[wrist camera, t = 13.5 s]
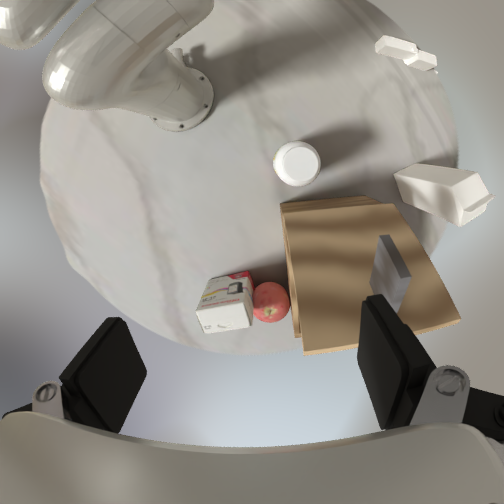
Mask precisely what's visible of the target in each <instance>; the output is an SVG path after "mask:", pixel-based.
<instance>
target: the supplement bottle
mask: <svg viewBox="0 0 504 504" xmlns="http://www.w3.org/2000/svg"><path fill="white" fill-rule="evenodd" d="M273 167H274V170H275V172H276V174H277V175H278V176H279V178H280V179H281V180H282V181H284V182H285V183H287V184H289V185H291V186H296V187H299V186H305V185H308V184H310V183H311V182H313V181H314V180H315V179H316V177H317V176H318V174H319V172H320V167H321V161H320V157H319V155H318V153H317V151H316V150H315V149H314V148H313V147H312V146H311V145H309V144H308V143H305V142H302V141H292V142H289V143H287V144H285V145H283V146H282V147H281V148H280V149H279V150H278V151H277V152H276V154H275V156H274V159H273Z"/></svg>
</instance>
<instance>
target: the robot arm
mask: <svg viewBox="0 0 504 504" xmlns="http://www.w3.org/2000/svg"><path fill="white" fill-rule="evenodd" d="M79 1H80V0H0V43H1V44H2V45H4V46H7V47H9V48H12V49H16V50H25V49H28V48H31V47H32V46H34V45H36V44H37V43H39V42H40V41H41V40H42V39H43V38H44V37H45V36H46V35H47V34H48V33H49V32H50V31H51V30H52V29H53V28H54V27H55V26H56V25H57V24H58V22H59V21H60V20H61V19H62V18H63V17H64V16H65V15H66V14H67V13H68V12H69V11H70V10H71V9H72V8H73V7H74V6H75V5H76V4H77V3H78V2H79ZM213 7H214V0H96V1H95V2H94V3H93V4H91V5H90V6H89V7H88V8H87V9H86V10H85V11H84V12H83V13H82V14H81V15H80V16H79V17H78V18H77V19H76V20H75V21H74V22H73V23H72V24H71V25H70V27H69V28H68V29H67V30H66V31H65V32H64V33H63V35H62V36H61V37H60V38H59V40H58V41H57V42H56V44H55V45H54V47H53V48H52V50H51V52H50V53H49V55H48V57H47V59H46V62H45V64H44V68H43V73H42V75H43V78H42V79H43V84H44V88H45V90H46V92H47V93H48V94H49V95H50V97H51V98H52V99H54V100H55V101H56V102H58V103H59V104H61V105H63V106H66V107H69V108H72V109H76V110H87V111H92V110H102V109H109V108H119V109H124V110H128V111H132V112H136V113H139V114H143V115H146V116H149V117H150V119H151V120H152V121H153V123H154V124H156V125H157V126H158V127H160V128H162V129H164V130H167V131H172V132H180V131H185V130H188V129H191V128H193V127H195V126H196V125H198V124H199V123H200V122H201V121H203V120H204V118H205V117H206V116H207V115H208V113H209V111H210V109H211V107H212V104H213V99H214V91H213V87H212V85H211V83H210V81H209V79H208V78H207V77H206V76H205V75H204V74H203V73H202V72H200V71H199V70H196V69H194V68H189V67H186V65H185V63H184V62H183V51H182V49H181V48H177V49H174V50H172V53H170V52H169V51H168V50H167V48H168V47H169V46H170V45H172V44H173V43H174V42H175V41H177V40H178V39H179V38H180V37H182V36H183V35H184V34H186V33H187V32H188V31H190V30H191V29H192V28H194V27H195V26H196V25H198V24H199V23H200V22H201V21H203V20H204V19H205V18H206V17H207V16H208V15H209V14H210V13H211V11H212V9H213ZM202 79H204V80H203V81H202ZM206 106H208V108H206ZM156 118H157V120H156ZM183 125H184V128H182V126H183ZM357 360H358V365H359V367H360V370H361V373H362V376H363V378H364V381H365V384H366V387H367V390H368V393H369V395H370V398H371V401H372V404H373V407H374V410H375V413H376V416H377V419H378V423H379V426H380V428H381V430H383V429H386V430H385V431H381V432H376V433H371V434H366V435H361V436H356V437H351V438H345V439H339V440H332V441H325V442H318V443H309V444H300V445H291V446H275V447H210V446H209V447H208V446H196V445H185V444H175V443H167V442H159V441H154V440H147V439H141V438H136V437H131V436H126V435H121V434H118V433H119V432H120V430H121V428H122V426H123V424H124V422H125V419H126V417H127V415H128V413H129V411H130V409H131V407H132V405H133V402H134V400H135V398H136V396H137V394H138V392H139V390H140V388H141V386H142V384H143V382H144V380H145V377H146V375H147V370H146V367H145V365H144V363H143V361H142V359H141V356H140V354H139V352H138V350H137V348H136V345H135V343H134V341H133V338H132V336H131V334H130V331H129V329H128V326H127V324H126V322H125V321H123V320H122V318H120V317H108V318H107V319H106V320H105V321H104V322H103V323H102V325H101V326H100V327H99V328H98V329H97V330H96V331H95V333H94V334H93V335H92V336H91V337H90V339H89V340H88V341H87V342H86V344H85V345H84V346H83V347H82V348H81V350H80V351H79V352H78V353H77V355H76V356H75V357H74V358H73V360H72V361H71V362H70V363H69V365H68V366H67V367H66V369H65V370H64V371H63V372H62V374H61V375H60V376H59V379H60V380H61V382H62V383H63V385H62V386H60V385H59V384H58V383H57V382H55V381H48V382H45V383H43V384H41V385H40V386H38V387H37V389H36V390H35V391H34V393H33V400H32V403H30V404H28V405H25V406H23V407H20V408H18V409H15V410H13V411H10V412H7V413H6V414H4V415H3V417H2V420H1V421H0V504H504V396H501V395H497V394H494V393H489V392H486V391H482V390H478V389H475V388H472V387H470V380H469V377H468V375H467V374H466V373H465V372H464V371H463V370H461V369H460V368H458V367H455V366H448V365H446V366H441V367H438V368H437V367H436V366H435V364H434V363H433V361H432V360H431V358H430V357H429V355H428V354H427V352H426V351H425V349H424V348H423V346H422V345H421V343H420V342H419V340H418V339H417V337H416V336H415V334H414V333H413V331H412V330H411V329H410V327H409V326H408V325H407V324H403V322H402V321H401V319H400V318H399V316H398V315H397V314H396V312H395V311H394V309H393V308H392V307H391V305H390V304H389V302H388V301H387V300H386V298H385V297H384V296H383V295H382V294H377V295H371V296H367V298H366V300H364V301H362V307H361V321H360V333H359V344H358V353H357Z"/></svg>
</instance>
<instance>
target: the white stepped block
mask: <svg viewBox="0 0 504 504" xmlns="http://www.w3.org/2000/svg"><path fill="white" fill-rule="evenodd" d="M375 48H376V53H377V54H382V55H386V56H390V57H394V58H398V59H402V60H404V63H405V64H407V66H410V67H414V68H417V69H421V70H424V71H427V70H429V69H431V68H434V67H436V66H437V60H436V56H435V55H432V54H430V53H427V52H424V51H421V50H418V49H417V47H416V44H414V43H411V42H407V41H404V40H401V39H397V38H394V37H390V36H386V35H384V36H382V37H381V38H380V39H379V40H378V41H377V42H376V43H375ZM434 70H435V69H434ZM435 72H436V74H438V72H437V71H436V70H435Z"/></svg>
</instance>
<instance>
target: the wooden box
mask: <svg viewBox="0 0 504 504" xmlns="http://www.w3.org/2000/svg"><path fill="white" fill-rule="evenodd" d="M377 204H383V203H381V202H379V201H376V200H374V199H372V198H370V197H367V196H365V195H364V196H352V197H340V198H329V199H318V200H308V201H299V202H289V203H280V209H281V218H282V227H283V236H284V245H285V254H286V264H287V274H288V285H289V296H290V305H291V313H292V320H293V327H294V335H295V338H299V337H301V329H300V321H299V313H298V306H297V299H296V292H295V285H294V278H293V271H292V265H291V258H290V252H289V246H288V240H287V233H286V227H285V222H284V213H293V212H302V211H311V210H321V209H331V208H342V207H353V206H364V205H377Z"/></svg>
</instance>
